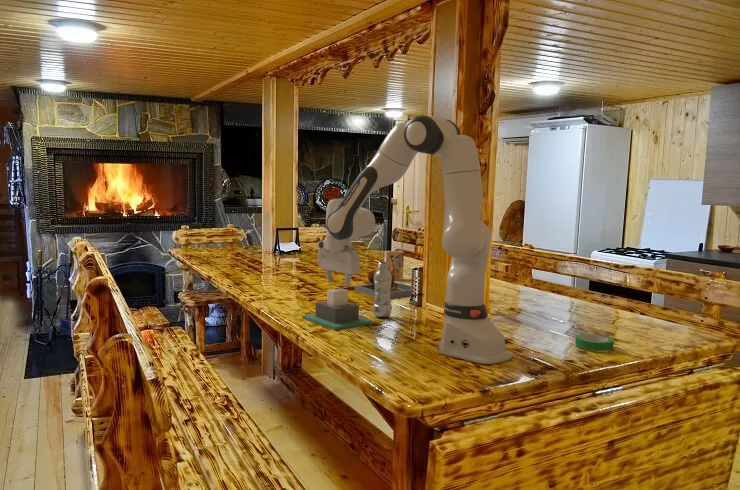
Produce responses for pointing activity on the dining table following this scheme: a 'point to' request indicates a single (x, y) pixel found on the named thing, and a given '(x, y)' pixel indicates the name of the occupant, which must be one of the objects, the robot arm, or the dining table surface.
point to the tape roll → (594, 342)
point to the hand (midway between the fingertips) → (338, 284)
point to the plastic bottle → (382, 291)
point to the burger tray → (406, 292)
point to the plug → (337, 297)
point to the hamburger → (371, 279)
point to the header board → (339, 325)
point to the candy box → (395, 263)
